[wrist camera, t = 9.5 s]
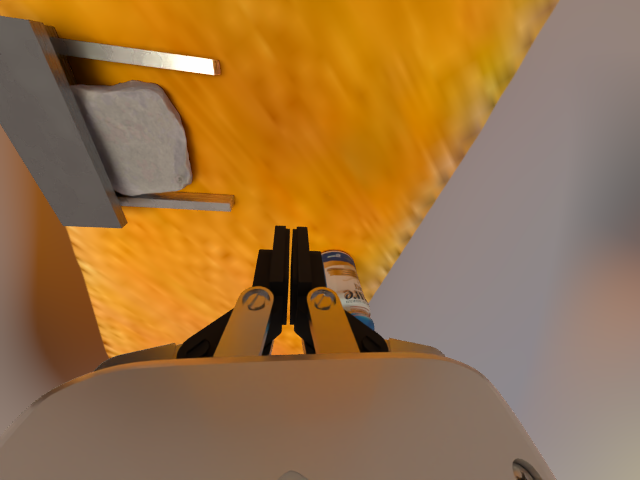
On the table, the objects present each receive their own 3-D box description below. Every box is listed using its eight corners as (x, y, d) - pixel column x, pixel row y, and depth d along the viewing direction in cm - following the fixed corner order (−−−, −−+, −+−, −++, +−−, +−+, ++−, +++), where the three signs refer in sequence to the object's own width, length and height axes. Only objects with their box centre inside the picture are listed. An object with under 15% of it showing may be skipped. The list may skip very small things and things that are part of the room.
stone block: (171, 76, 26) (66, 84, 24) (161, 78, 22) (37, 87, 20) (208, 177, 33) (130, 189, 31) (205, 191, 30) (117, 206, 28)
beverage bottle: (300, 260, 41) (304, 383, 25) (343, 240, 39) (377, 358, 23) (321, 288, 46) (337, 406, 30) (361, 271, 44) (400, 387, 28)
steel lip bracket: (16, 21, 21) (-73, 5, 16) (217, 50, 24) (196, 44, 18) (100, 200, 32) (63, 225, 26) (235, 207, 34) (224, 232, 29)
